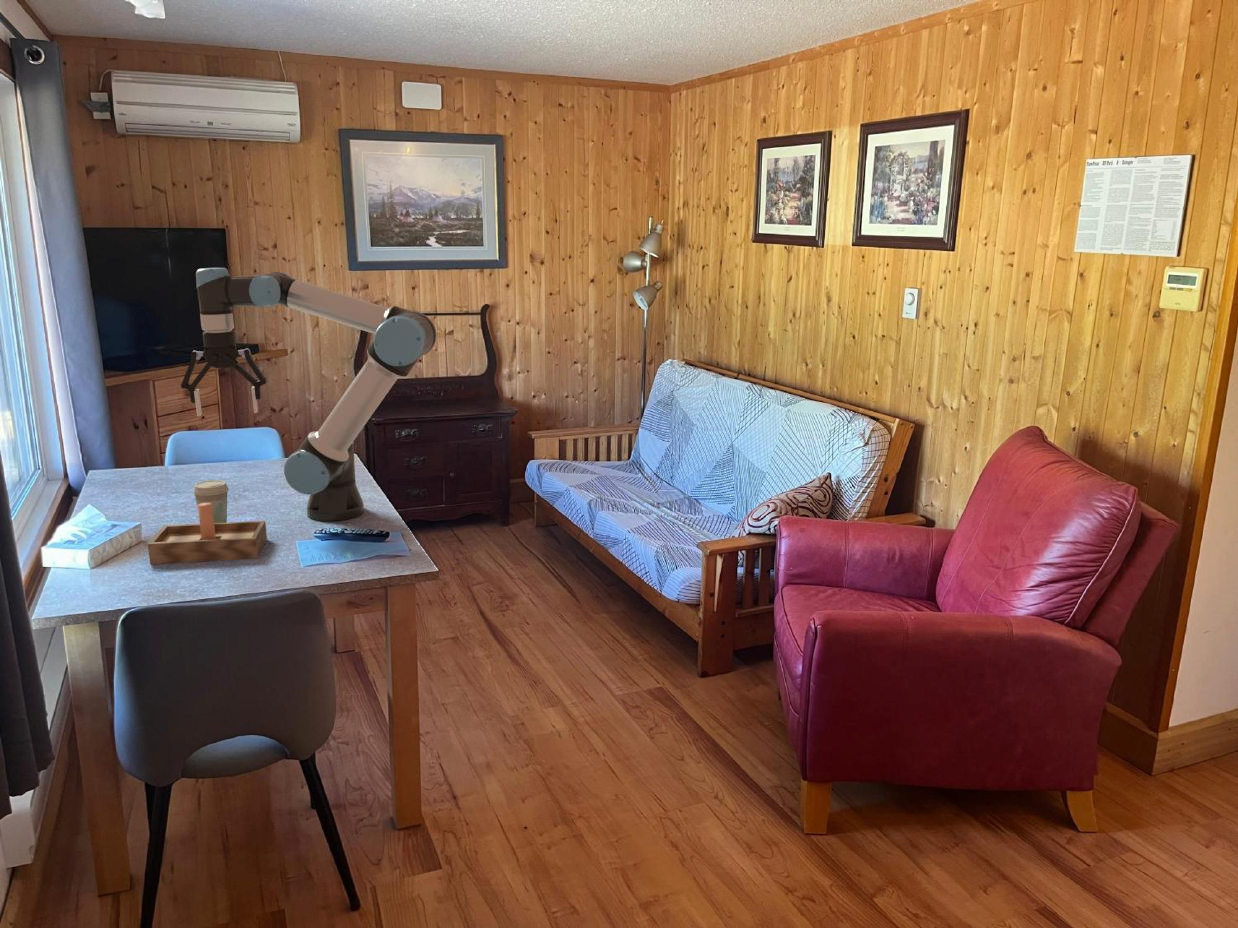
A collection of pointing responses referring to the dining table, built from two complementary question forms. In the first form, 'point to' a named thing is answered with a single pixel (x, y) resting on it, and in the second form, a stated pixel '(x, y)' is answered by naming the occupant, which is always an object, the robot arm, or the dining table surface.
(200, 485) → the coffee cup
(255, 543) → the crate
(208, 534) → the peg
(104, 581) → the dining table surface
